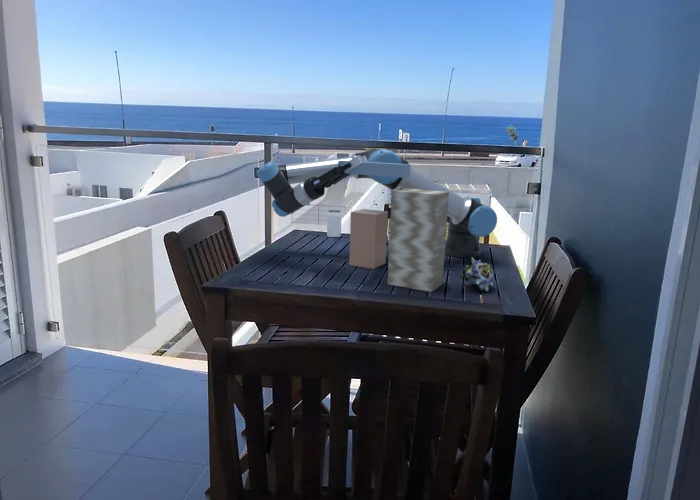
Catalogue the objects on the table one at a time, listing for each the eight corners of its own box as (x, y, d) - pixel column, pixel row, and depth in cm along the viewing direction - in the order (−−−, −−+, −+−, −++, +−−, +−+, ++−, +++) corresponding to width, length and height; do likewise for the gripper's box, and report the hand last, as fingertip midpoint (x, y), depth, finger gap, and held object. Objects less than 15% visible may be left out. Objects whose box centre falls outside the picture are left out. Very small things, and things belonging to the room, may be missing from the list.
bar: (337, 173, 174) (338, 160, 173) (343, 172, 177) (343, 160, 176) (405, 177, 163) (405, 164, 162) (409, 177, 166) (410, 164, 166)
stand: (387, 284, 168) (391, 190, 162) (399, 277, 177) (404, 188, 171) (431, 291, 162) (438, 194, 155) (442, 284, 170) (449, 191, 164)
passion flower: (483, 307, 166) (484, 283, 157) (452, 294, 171) (451, 270, 162) (499, 282, 171) (500, 258, 162) (469, 271, 176) (468, 246, 168)
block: (349, 265, 191) (350, 212, 187) (361, 259, 200) (363, 208, 196) (373, 269, 187) (376, 214, 183) (385, 263, 196) (387, 211, 191)
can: (341, 235, 246) (342, 210, 243) (340, 238, 240) (340, 212, 237) (327, 235, 247) (328, 209, 244) (325, 237, 240) (326, 211, 238)
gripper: (326, 198, 190) (378, 168, 178) (300, 202, 175) (355, 171, 163) (318, 179, 190) (369, 148, 178) (291, 182, 175) (345, 149, 164)
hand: (362, 159), depth 171 cm, fingers closed on bar, 4 cm apart
